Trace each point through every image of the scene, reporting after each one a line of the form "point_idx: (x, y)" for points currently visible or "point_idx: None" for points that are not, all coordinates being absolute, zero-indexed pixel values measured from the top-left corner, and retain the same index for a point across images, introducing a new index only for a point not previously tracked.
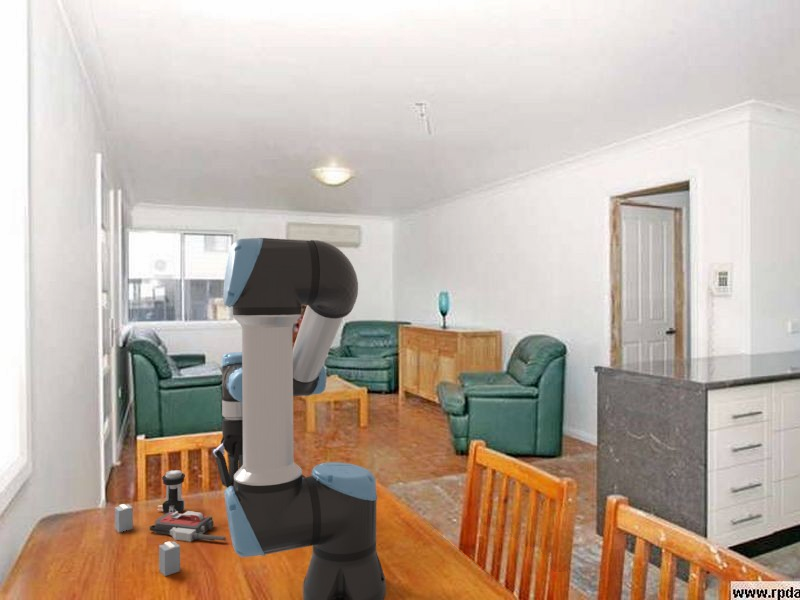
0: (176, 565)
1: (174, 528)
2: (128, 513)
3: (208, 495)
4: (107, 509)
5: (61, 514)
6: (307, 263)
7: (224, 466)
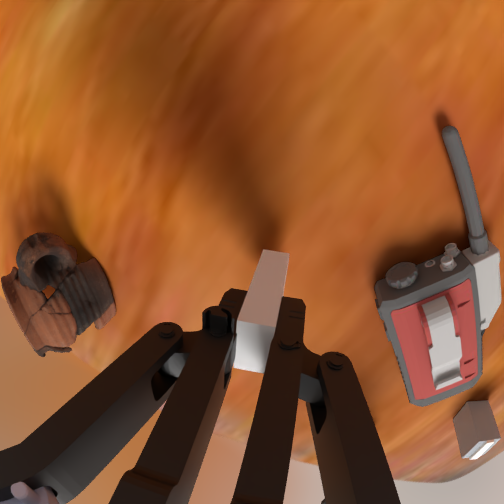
0: None
1: (487, 321)
2: (483, 431)
3: (234, 429)
4: (403, 475)
5: (441, 482)
6: None
7: (373, 487)
